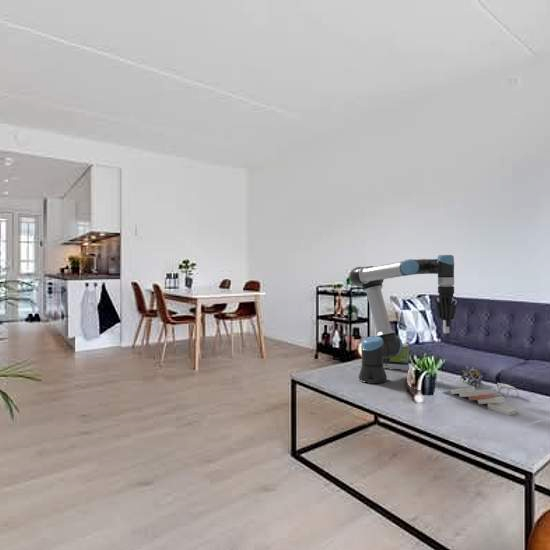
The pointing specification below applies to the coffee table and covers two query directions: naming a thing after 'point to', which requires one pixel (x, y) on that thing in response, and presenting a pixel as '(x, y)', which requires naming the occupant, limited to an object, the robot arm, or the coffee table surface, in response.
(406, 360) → the tea box
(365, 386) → the coffee table surface
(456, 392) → the domino
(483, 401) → the domino
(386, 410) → the coffee table surface
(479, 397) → the domino
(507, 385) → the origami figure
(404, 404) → the coffee table surface
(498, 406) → the domino
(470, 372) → the passion flower
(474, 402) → the mat
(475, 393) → the domino
